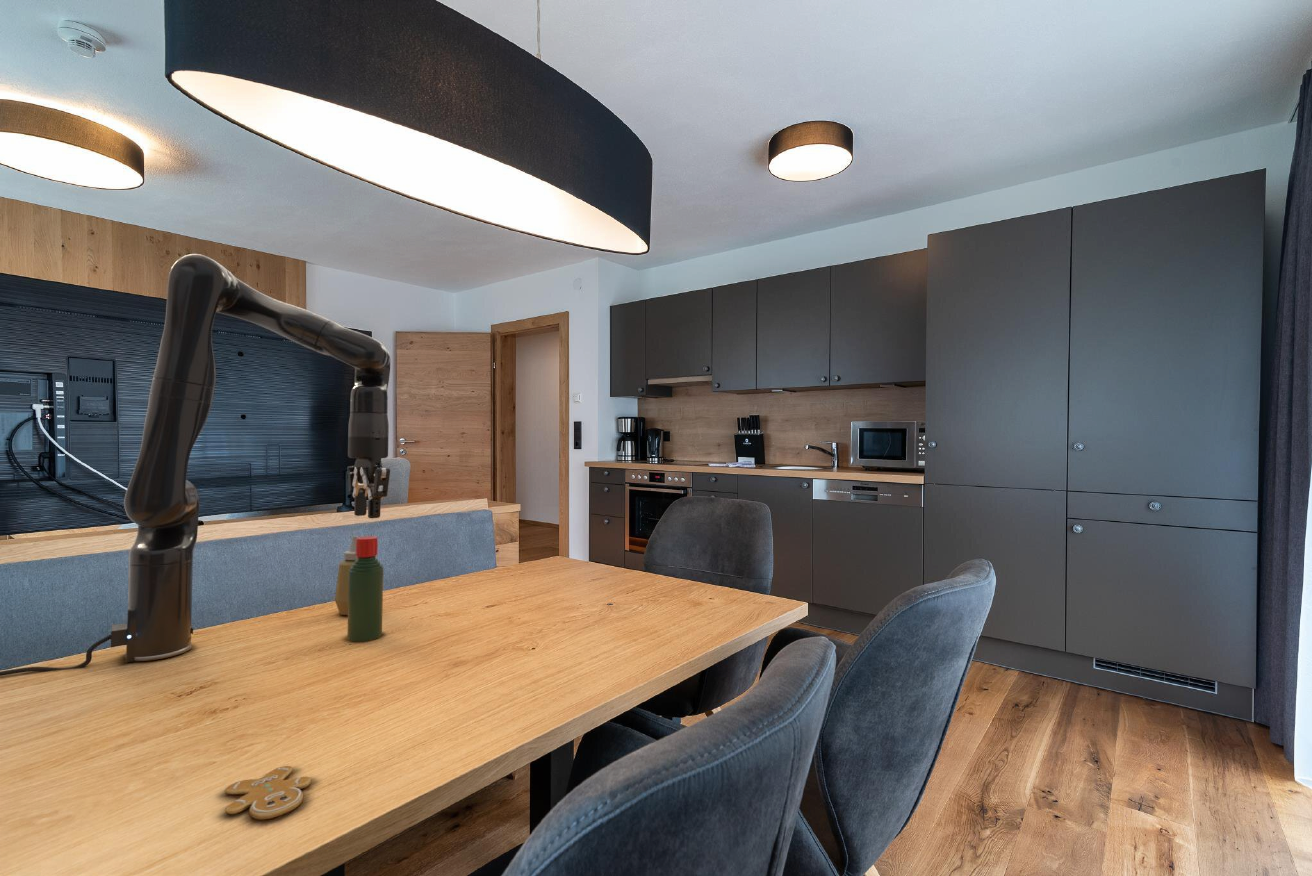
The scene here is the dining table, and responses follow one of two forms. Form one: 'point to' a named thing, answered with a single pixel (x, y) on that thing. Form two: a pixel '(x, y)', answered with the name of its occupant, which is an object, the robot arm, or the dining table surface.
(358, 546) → the cap
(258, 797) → the cookie
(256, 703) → the dining table surface
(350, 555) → the squeeze bottle
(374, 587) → the sauce bottle
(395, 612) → the dining table surface
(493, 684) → the dining table surface
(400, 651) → the dining table surface
